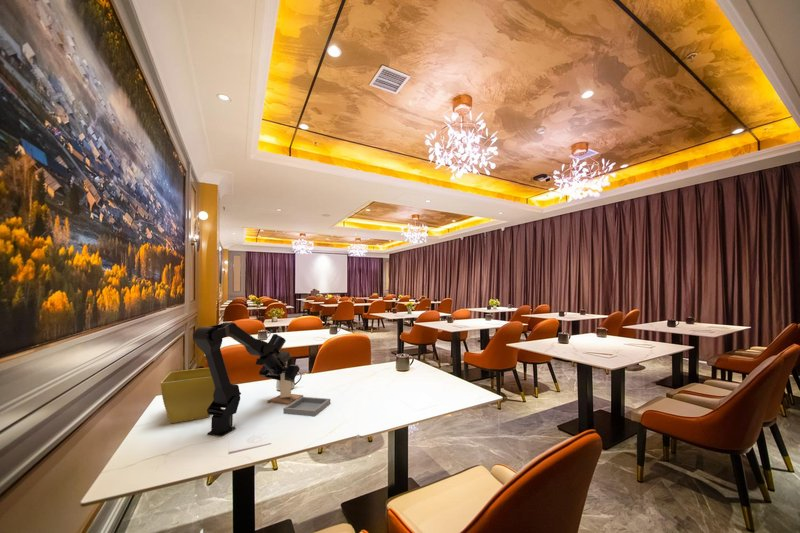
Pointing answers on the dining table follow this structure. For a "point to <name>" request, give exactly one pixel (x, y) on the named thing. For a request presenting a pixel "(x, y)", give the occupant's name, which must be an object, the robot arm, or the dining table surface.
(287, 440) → the dining table surface
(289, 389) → the carton
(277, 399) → the pad
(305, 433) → the dining table surface
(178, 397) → the flower pot
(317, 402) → the bin
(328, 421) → the dining table surface
